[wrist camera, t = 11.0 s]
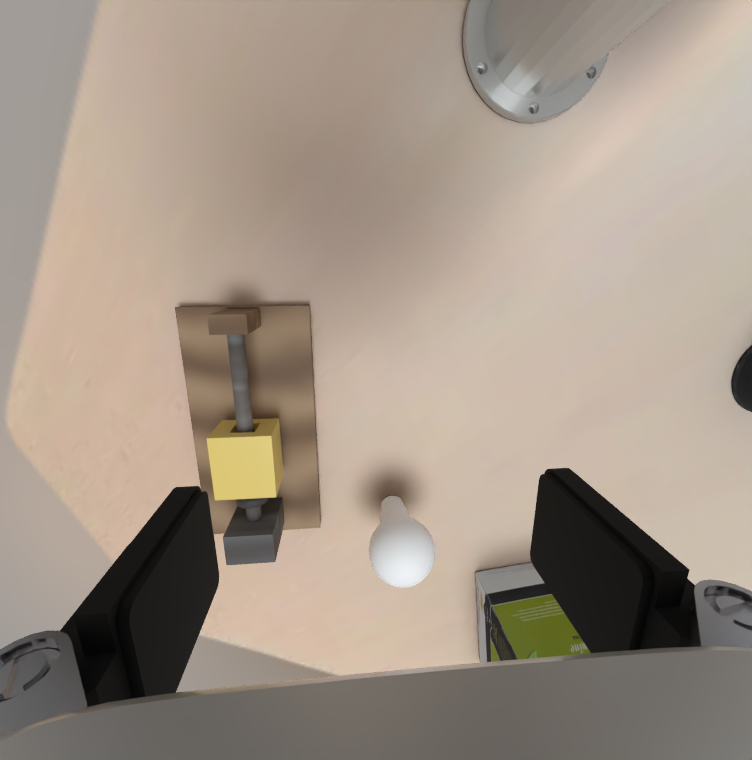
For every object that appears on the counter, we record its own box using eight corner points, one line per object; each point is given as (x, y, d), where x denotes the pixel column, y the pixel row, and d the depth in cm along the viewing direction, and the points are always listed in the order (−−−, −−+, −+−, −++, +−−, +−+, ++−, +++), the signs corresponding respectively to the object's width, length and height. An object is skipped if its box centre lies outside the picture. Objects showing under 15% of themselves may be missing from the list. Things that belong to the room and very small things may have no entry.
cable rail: (180, 306, 35) (141, 313, 28) (310, 305, 36) (302, 311, 29) (211, 527, 42) (185, 576, 35) (320, 520, 43) (316, 568, 36)
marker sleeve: (221, 420, 36) (206, 438, 32) (279, 418, 37) (271, 435, 33) (228, 476, 38) (214, 500, 34) (283, 473, 38) (276, 497, 34)
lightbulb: (353, 508, 43) (357, 584, 32) (385, 467, 42) (400, 532, 31) (396, 533, 44) (413, 614, 33) (428, 494, 43) (456, 565, 32)
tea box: (550, 647, 51) (630, 790, 37) (477, 660, 51) (531, 811, 36) (551, 555, 47) (642, 676, 33) (472, 568, 46) (530, 697, 32)
